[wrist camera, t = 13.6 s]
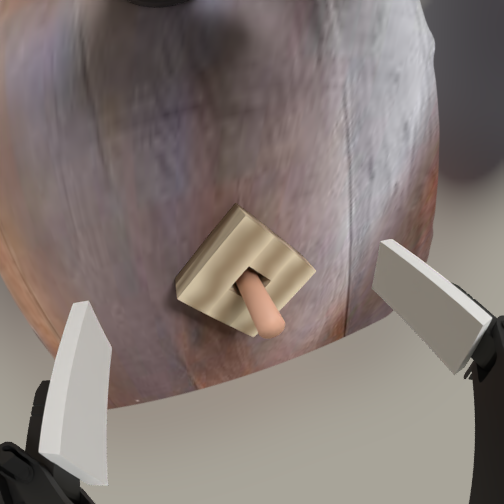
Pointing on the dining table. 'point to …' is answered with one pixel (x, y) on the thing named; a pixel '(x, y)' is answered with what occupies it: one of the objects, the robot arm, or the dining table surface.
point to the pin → (260, 305)
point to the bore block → (240, 269)
